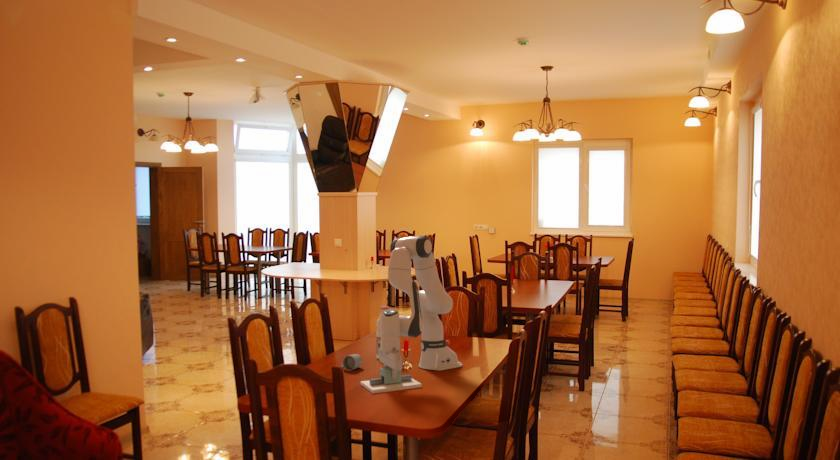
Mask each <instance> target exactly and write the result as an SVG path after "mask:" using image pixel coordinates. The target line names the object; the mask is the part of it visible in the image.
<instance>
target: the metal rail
mask: <svg viewBox="0 0 840 460" xmlns="http://www.w3.org/2000/svg"><path fill="white" fill-rule="evenodd" d="M412 379H413V377H412V374H409V373H408V374H401V382H406V381H412ZM369 380H370V385H371V386H374V385H382V384H384V377H383V378H380V377H377V378H370V379H369Z"/></svg>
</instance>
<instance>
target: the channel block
mask: <svg viewBox="0 0 840 460" xmlns="http://www.w3.org/2000/svg"><path fill="white" fill-rule="evenodd" d="M392 372H393V371H392V368H390V367H384V366H383V367H380V368H379V378H383V377H384V384H391V383H399V382H401V375H402V370H398V371H397V374H396V378H392Z"/></svg>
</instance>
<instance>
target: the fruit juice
mask: <svg viewBox="0 0 840 460" xmlns="http://www.w3.org/2000/svg"><path fill="white" fill-rule="evenodd" d="M379 308H380V309H379V310H380V313H379V317H378V318H377V319H376V322H375V323H376V327H377V329H376V331H375V332H376V335H375V337H376V338H375V339H376V340H375V341H376V342H375V344H376V349H375V350H376V351H375V353H376V356H375V357H376V359H378V360H379V347H378V342H381V337H382V333H381V319H382V314H383V312H385V311H387V310H390V306H388V305H381V306H380V307H379Z"/></svg>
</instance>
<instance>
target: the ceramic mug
mask: <svg viewBox="0 0 840 460" xmlns="http://www.w3.org/2000/svg"><path fill="white" fill-rule="evenodd" d="M363 362H364V361H363V358H362V356H361V355H360V354H358V353H353V354H348V355H346V356H344V357H343V359H342V364H341V365H340V367H342V368H344V369H345V370H346V371H348V372H350V371H351V372H352V371H353V370H356V369H359V368H360V367H361V366H362V365H363Z"/></svg>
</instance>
